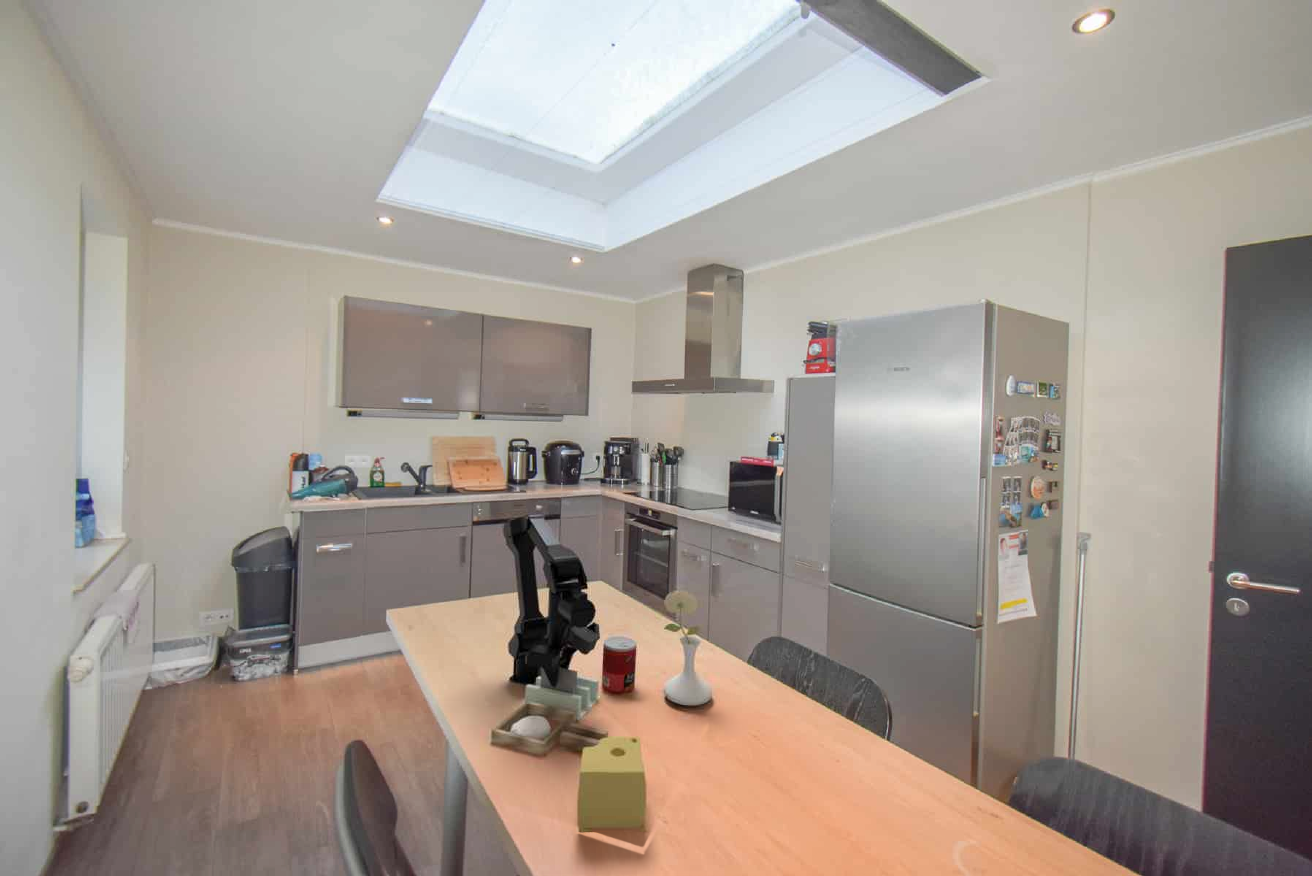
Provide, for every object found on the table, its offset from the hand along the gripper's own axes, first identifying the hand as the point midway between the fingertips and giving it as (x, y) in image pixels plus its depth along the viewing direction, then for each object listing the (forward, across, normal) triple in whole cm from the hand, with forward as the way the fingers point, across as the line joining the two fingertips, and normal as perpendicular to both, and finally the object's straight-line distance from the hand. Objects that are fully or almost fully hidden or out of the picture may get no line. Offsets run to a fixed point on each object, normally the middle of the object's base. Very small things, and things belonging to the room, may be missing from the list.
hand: (558, 682), depth 125 cm
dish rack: (+6, +2, 0) cm, 6 cm away
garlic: (+6, -12, 0) cm, 14 cm away
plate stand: (+6, -11, -12) cm, 17 cm away
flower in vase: (+6, +17, -24) cm, 30 cm away
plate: (+5, 0, 0) cm, 5 cm away
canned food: (+6, +15, -8) cm, 18 cm away
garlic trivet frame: (+6, -11, -1) cm, 12 cm away
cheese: (+6, -25, -24) cm, 35 cm away
